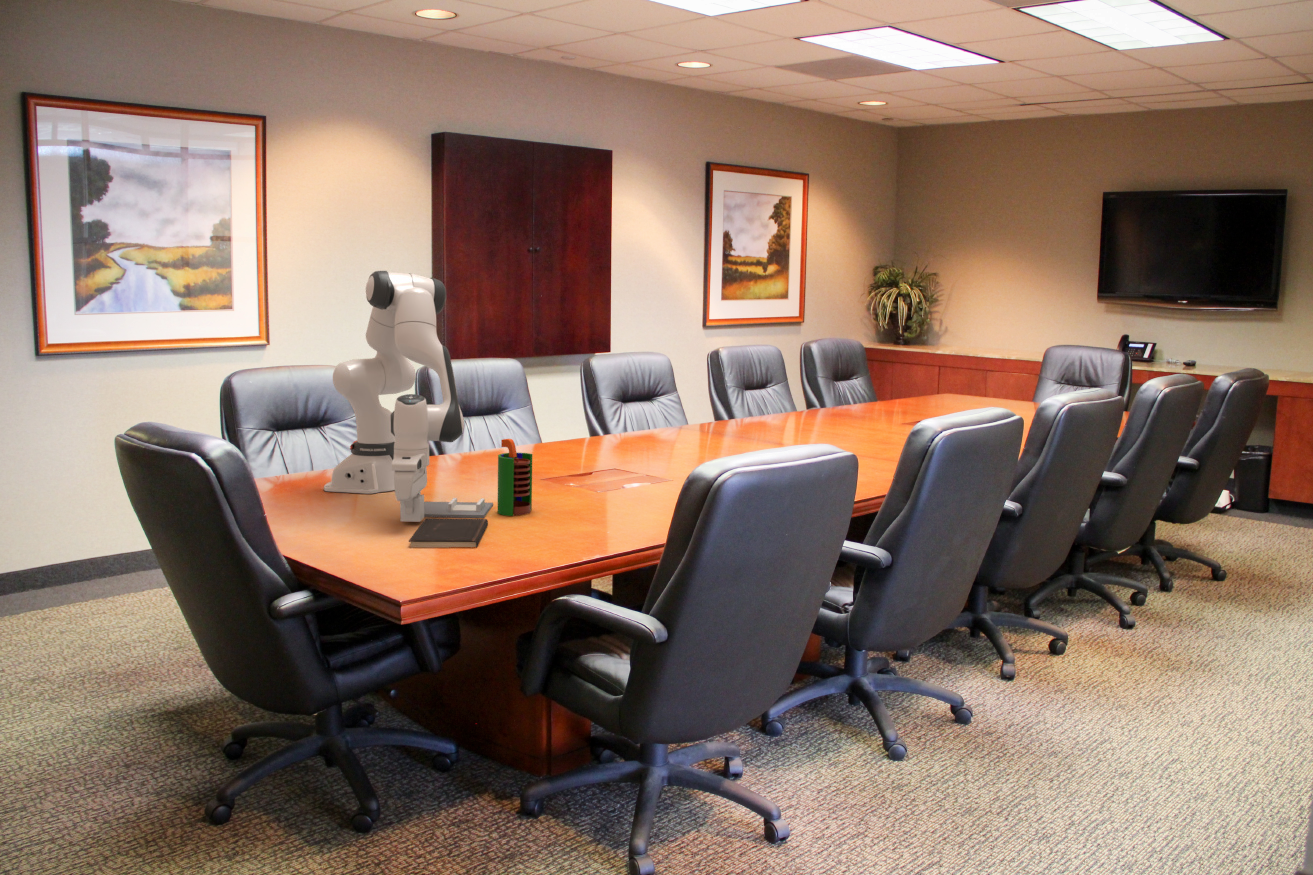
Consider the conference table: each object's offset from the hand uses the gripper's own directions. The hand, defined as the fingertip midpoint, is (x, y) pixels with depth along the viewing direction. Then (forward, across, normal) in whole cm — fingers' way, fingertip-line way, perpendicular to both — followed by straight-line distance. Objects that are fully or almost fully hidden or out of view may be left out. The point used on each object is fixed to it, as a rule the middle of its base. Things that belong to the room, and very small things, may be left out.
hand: (412, 511), depth 274 cm
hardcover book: (+4, +13, +12) cm, 18 cm away
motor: (+3, -15, +24) cm, 29 cm away
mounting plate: (+3, -15, +7) cm, 17 cm away
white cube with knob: (+2, 0, 0) cm, 2 cm away
